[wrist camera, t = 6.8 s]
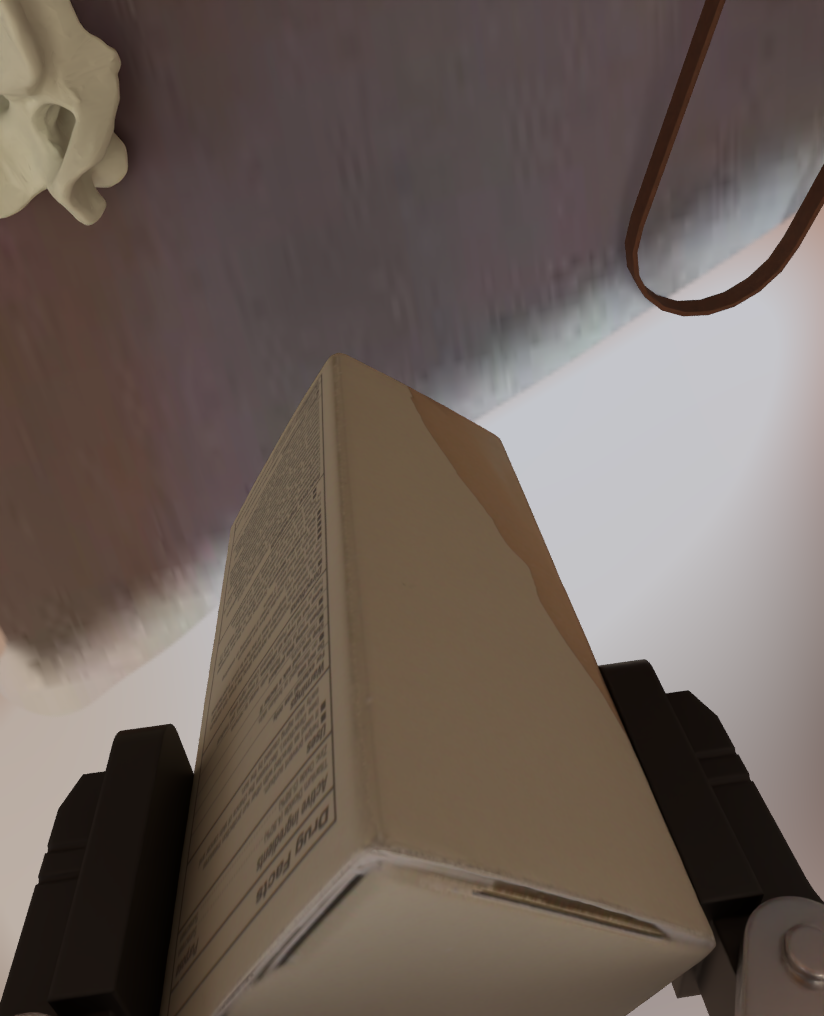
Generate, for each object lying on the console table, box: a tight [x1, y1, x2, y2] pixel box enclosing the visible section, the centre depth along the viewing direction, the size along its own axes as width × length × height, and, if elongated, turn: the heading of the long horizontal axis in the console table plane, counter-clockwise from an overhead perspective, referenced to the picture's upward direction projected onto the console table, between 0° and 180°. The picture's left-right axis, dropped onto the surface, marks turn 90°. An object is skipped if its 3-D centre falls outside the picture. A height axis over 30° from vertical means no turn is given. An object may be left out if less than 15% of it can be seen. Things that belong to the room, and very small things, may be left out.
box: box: [159, 353, 716, 1016], centre depth 13 cm, size 5×4×11 cm
